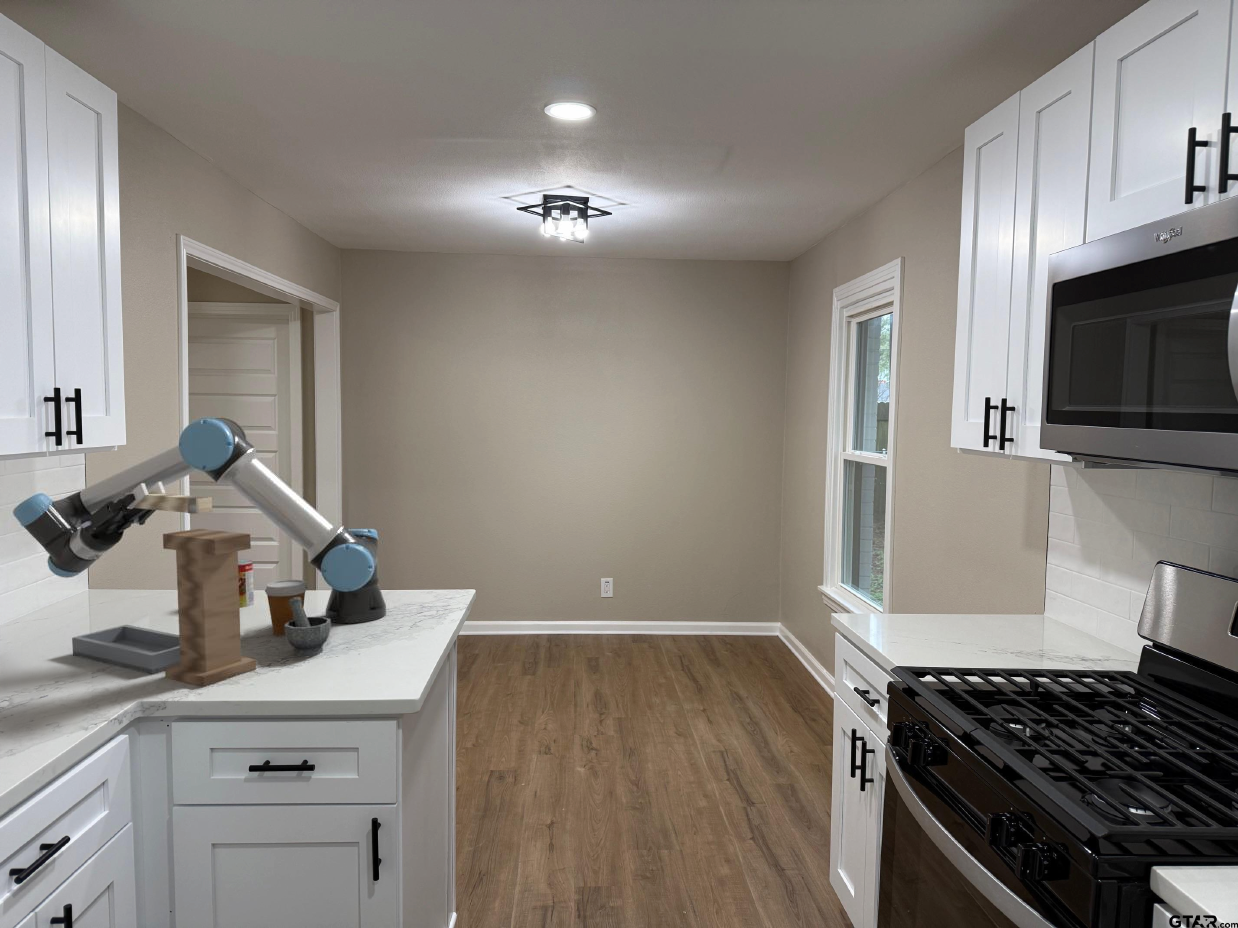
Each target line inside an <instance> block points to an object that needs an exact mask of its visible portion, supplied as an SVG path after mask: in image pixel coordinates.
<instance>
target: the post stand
mask: <svg viewBox="0 0 1238 928" xmlns="http://www.w3.org/2000/svg"><path fill="white" fill-rule="evenodd" d="M251 541H252V540H251V533H243V532H242V533H241V532H234V531H224V530H214V529H204V528H194V529H189V530H181V531H180V530H179V531H174V532H167V533H163V534H162V544H163V545H162V547H163V549H165V550H173V551H175V559H176V560H175V561H176V586H177V608H178V609H177V610H178V635H179V640H180V663H179V664H176V665H173V666H169V667H166V668H165V671H164V678H165V679H169V678H171V679H170V680H174V679H175V681H178V682H182V681H184V682H183V683H186V682H187V683H186V684H190V683H191V685H196V686H199V687H203V686H204V687H203V688H205V687H207V685H208V686H210V684H211V685H213V684H217V683H219V681H220V682H223V681H226V680H228V679H227V678H229V679H232V678H234V676H235V677H237V676H236V675H238V676H240V674H241V675H243V673H244V674H246V672H247V673H249V672H252V671H255V670H257V660H256V659H253V658H249V657H244V656H242V647H241V646H242V643H241V642H242V641H241V615H240V611H241V610H240V608H239V579H238V559H239V558H238V557H239V555H238V554H239V553H238V552H240V551H246V550H250V549H251V548H252V547H251V545H252V544H251ZM251 550H252V549H251ZM231 677H232V678H231ZM225 679H226V680H225ZM222 680H223V681H222ZM216 682H217V683H216Z"/></svg>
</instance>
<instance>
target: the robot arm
mask: <svg viewBox="0 0 1238 928" xmlns="http://www.w3.org/2000/svg"><path fill="white" fill-rule="evenodd" d="M197 472H201V473H205V474H206V476H209V478H211V479H212V480H213V481H215V482H216V483H217V484H218V485H219V484H220V485H229V486H231V487H232V488H233V489H234V490H235V491H237V493H239V494H240V495H241V496H242V497H243V498H244V499H245V500H247V501H248V502H249V503H250V504H252V506H254V507H255V508H256V509H257V510H258V511H259V512H261V514H263V515H264V516H265V517H267V519H269V520H270V521H271V522H272V523H273V524H275V526H277V527H278V528H279V529H280V530H282V531H283V532H284V533H285V534H286V535H287V536H288V537H289V538H291V539H292V540H293V541H294V543H295V542H296V543H297V544H298V545H299V546H300V547H301V548H302V549H303V550H304V551H306V552H307V561H308V563H310V564H311V565H312V566H313V567H314V568H315V569H316V570H318V571H319V572H320V573H321V576H322V578H323V580H324V582H326V584H327V585H328V586H329V587H331V590H330V594H329V597H328V600H327V603H326V604H327V605H326V607H325V618H328V619H330V621H331V623H338V624H339V623H340V624H354V623H355V624H356V623H365V622H371V621H374V620H377V619H381V618H383V617H384V616H386V615H387V605H386V602H385V599H384V596H383V593H382V591H381V588H380V579H379V541H380V539H379V537H378V531H377V530H376V529H374V528H356V529H355V528H351V529H348V528H346V526H344V525H333V524H332V523H331V522H330V521H329V520H328V519H327V518H325V516H323V515H322V514H321V513H320V512H319V511H317V509H315V508H314V507H313V506H312V505H311V504H310V503H309V502H308V501H306V500H305V499H304V497H302V496H301V495H299V494H298V492H296V491H295V490H294V489H292V488H291V486H289V485H288V484H287V483H286V482H284V481H283V480H282V479H281V478H280V477H279V476H278V475H277V474H276V473H275V472H273V471H272V470H271V469H270V468H269V467H267V465H265V464H264V463H263V462H262V461H261V460H259V458H258V457H257V448H256V447H255V446H254V445H253V444H252V443H250V442H249V441H248V440H247V435H246V433H245V431H244V429H243V427H242V426H241V425H240V424H239V423H237V422H236V421H234V420H233V419H229V418H226V417H215V418H213V417H204V418H199V419H196V420H194V421H193V422H191V423H189V424H188V425H187V426H186V427H185V428H184V429H183V430H182V432H181V434H180V435H179V439H178V445H176V446H174V447H171V448H170V449H169V448H168V449H167V450H165V451H164V452H161V453H159V454H156V455H155V456H152V457H150V458H149V459H148V458H147V459H146V460H144V461H142V462H139V463H137V464H135V465H133V466H131V467H128V468H126V469H125V470H122V471H119V472H118V473H116V474H113V475H112V476H110V477H107V478H105V479H103V480H101V481H99V482H97V483H94V484H92V485H90V486H88V487H86V488H83V489H81V490H79V491H76V492H75V493H72V494H70V495H68V496H65V497H64V498H61V499H58V500H53V499H52V498H50V497H49V496H48V495H47V494H46V493H43V492H40V493H36V494H34V495H32V496H30V497H28V498H26V499H25V500H23V501H22V502H21V503H19V504H18V505H16V507H14V509H13V511H12V514H13V516H14V517H15V519H16V520H17V521H18V522H19V524H20V525H21V527H23V528H24V529H25V530H26V531H27V532H28V533H29V534H30V535H31V536H32V537H33V538H34V539H35V540H36V542H38V543H39V545H40V546H42V547H43V548H44V550H45V552H46V553H47V554H48V558H47V560H46V561H47V566H48V568H49V571H50V572H52V573H53V574H54V575H55V576H57V577H60V578H67V579H68V578H73V577H76V576H79V575H80V574H81V573H82V572H84V571H85V570H87V569H88V568H89V569H90V567H91V566H92V565H93V564H94V563H95V562H96V561H98V560H100V558H101V557H102V556H103V555H104V554H105V553H107V552H108V551H109V550H110V549H112V548H113V547H114V546H115V545H116V544H118V543H119V542H120V541H121V540H122V538H123V536H124V532H125V531H126V530H127V529H129V528H130V527H131V526H132V524H133V525H134V524H137V525H139V526H143V525H145V524H146V521H147V520H148V519H149V518H150V517H151V516H152V515H153V514H154V513H155V512H156V511H157V510H152V509H141V508H134V507H135V506H136V505H137V504H139V503H140V502H141V501H142V500H143V499H144V498H146V497H147V496H148V495H149V494H148V493H160V494H167V493H166V490H165V487H167V486H168V485H170V484H172V483H174V482H177V481H179V480H181V479H183V478H185V477H187V476H189V475H192V474H193V473H197ZM130 492H131V493H130ZM124 493H130V494H128V495H126V496H125V497H124Z"/></svg>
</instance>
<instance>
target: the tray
mask: <svg viewBox="0 0 1238 928" xmlns="http://www.w3.org/2000/svg"><path fill="white" fill-rule="evenodd" d="M71 641H72V642H71V643H72V656H74V657H78V658H82V659H86V660H90V661H95V662H99V663H103V664H107V665H112V666H115V667H119V668H123V669H128V670H132V669H133V671H137V672H141V673H145V674H148V673H149V675H156V674H159V672H160V673H162V672H165V668H166V667H169V666H173V665H176V664H179V663H180V640H179V634H175V633H170V632H166V631H161V630H154V629H150V628H145V627H140V626H135V625H130V624H123V625H119V626H115V627H111V628H107V629H102V630H99V631H93V632H90V633H87V634H81V635H77V636H73V637H71Z"/></svg>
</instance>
